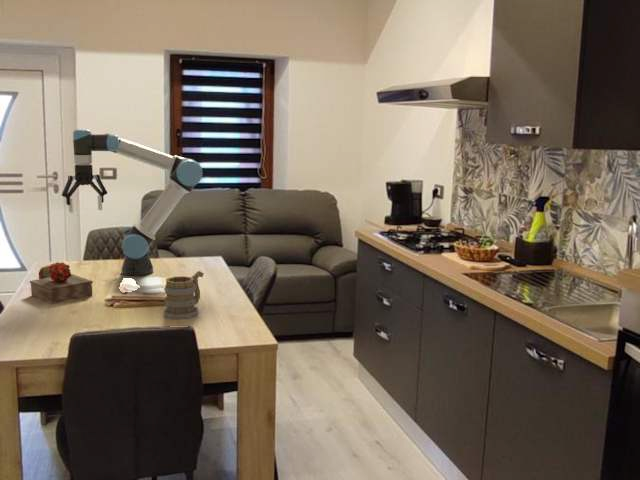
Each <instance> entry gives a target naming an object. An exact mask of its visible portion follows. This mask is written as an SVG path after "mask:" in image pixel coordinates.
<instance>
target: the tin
mask: <svg viewBox="0 0 640 480" xmlns="http://www.w3.org/2000/svg"><path fill="white" fill-rule="evenodd" d="M55 263H56V262H55ZM55 263H50V264H48V265H46V266H42V267H41V268H40V269H39V271H38V279H44V278H50V277H51V276H50V275H49V271H50V267H51V266H52V265H55Z"/></svg>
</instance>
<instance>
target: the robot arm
mask: <svg viewBox="0 0 640 480" xmlns="http://www.w3.org/2000/svg"><path fill="white" fill-rule="evenodd" d="M72 133H73V134H72V136H73V137H72V138H73V139H72V144H73V157H74V175H67V181H66V183H65V186H64V188H63V191H62V192H61V196H62V197H64V198H65V201H66V202H65V203H66V205H67V206H68V212H69V213H70V214H71V213H74V208H73V198H72V195H73V194H74V193H75V192H76V190H77V189H78V188H79V187H80V186H90V187H91V188H92V189H93V190H94V191H95V192H96V193H97V209H98V210H99V211H103V203H104V202H105V201H104V200H105V199H104V196H105V195H108V191H107V189H106V187H105V185H104V184H103V182H102V180H101V176H100V174H96V173H95V174H93V172H94V171H93V165H92V164H93V156H92V155H93V153H92V152H111V153H114V154H117V155H120V156H123V157H126V158H130V159H133V160H135V161H138V162H139V163H143V164H147V165H149V166H152V167H155V168H157V169H160V170H164V171H166V172H168V174H169V175H170V176H169V183H168V184H167V186H166V187H165V189H163V191H162V192H161V194H160V195H159V196H158V198H157V199H156V201H155V202H154V203H153V205H152V206H151V207H150V208H149V210H148V211H147V212H146V214H145V215H144V217H143V218H142V219H141V221H140V222H139V223H137V224H133V226H132V225H131V226H124V227H123V232H122V233H123V240H122V241H121V250H122V252H123V253H124V258H123V262H122V265H121V274H122V275H125V276H135V277H136V276H146V275H150V274H153V273H154V266H153V264H152V261H151V258H150V253H149V252H150V247H151V245H152V244H153V243H154V241H155V240H156V233H157V232H158V230H159V229H160V228H161V226H162V225H163V224H164V222H166V220H167V218H168V217H169V215H170V214H171V213H172V212H173V210H174V209H175V208H176V207H177V205H178V204H179V202H180V201H181V200H182V198H183V197H184V196H185V194H189V193H191V192H192V190H193V189H194V188H195V186H196V185H198V183H200V182H201V180H202V178H203V168H202V166H201V165H200V163H199V162H197V161H196V160H195V159H193V158H187V157H183V156H178V155H176V154H175V155H171V154H167V153H165V152H162V151H158V150H155V149H153V148H150V147H147V146H144V145H142V144H139V143H135V142H133V141H130V140H127V139H124V138H121V137H119V135H117V134H112V133H104V134H103V133H102V134H93V133H92V131H91V130H90V129H75V130H73V132H72ZM74 180H75V182H74V184H73V181H74ZM93 180H95V181H96V183H97V185H98V186H97V185H96V183H95V182H94V181H93ZM72 184H73V185H72ZM71 185H72V186H71Z"/></svg>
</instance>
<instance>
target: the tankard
mask: <svg viewBox="0 0 640 480" xmlns="http://www.w3.org/2000/svg"><path fill="white" fill-rule="evenodd" d="M199 277H200V278H203V277H204V272H202V271H200V270H198V271H197V272H195V273H194V274H193V275H192V276H172V277H169V278H166V282H165V283H166V284H164V289H163V290H164V292H165V293H164V294H165V295H166V297H165V300H164V302H165V303H164V304H165V307H166V308H164V309H163V317H164V318H167V319H171V320H186V319H192V318H193V317H197V316H198V315H199V314H198V307H196V306H195V305H197V304H198V303H199V302H200V301H199V300H200V298H201V289H200V286H199Z"/></svg>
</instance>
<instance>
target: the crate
mask: <svg viewBox="0 0 640 480" xmlns="http://www.w3.org/2000/svg"><path fill="white" fill-rule="evenodd" d="M71 274H72V275H71V277H69V278H68V279H67V280H66V281H64V280H62V281H61V282H58V283H56V282H55V281H54V280H52V279H51V277H50V278H44V279H39V278H38V279H33V280H29V283H30V291H31V293H30V294H31V296H32V297H33V298H36V299H38V300H39V301H40V300H41V301H43V302H45V303H48V304H49V305H54V304H60V303H64V302H68V301H73V300H79V299H84V298H90V297H93V283H94V282H93V280H91V279H87V278H85V277H82V276H78V275H76V274H73V273H71Z"/></svg>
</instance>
